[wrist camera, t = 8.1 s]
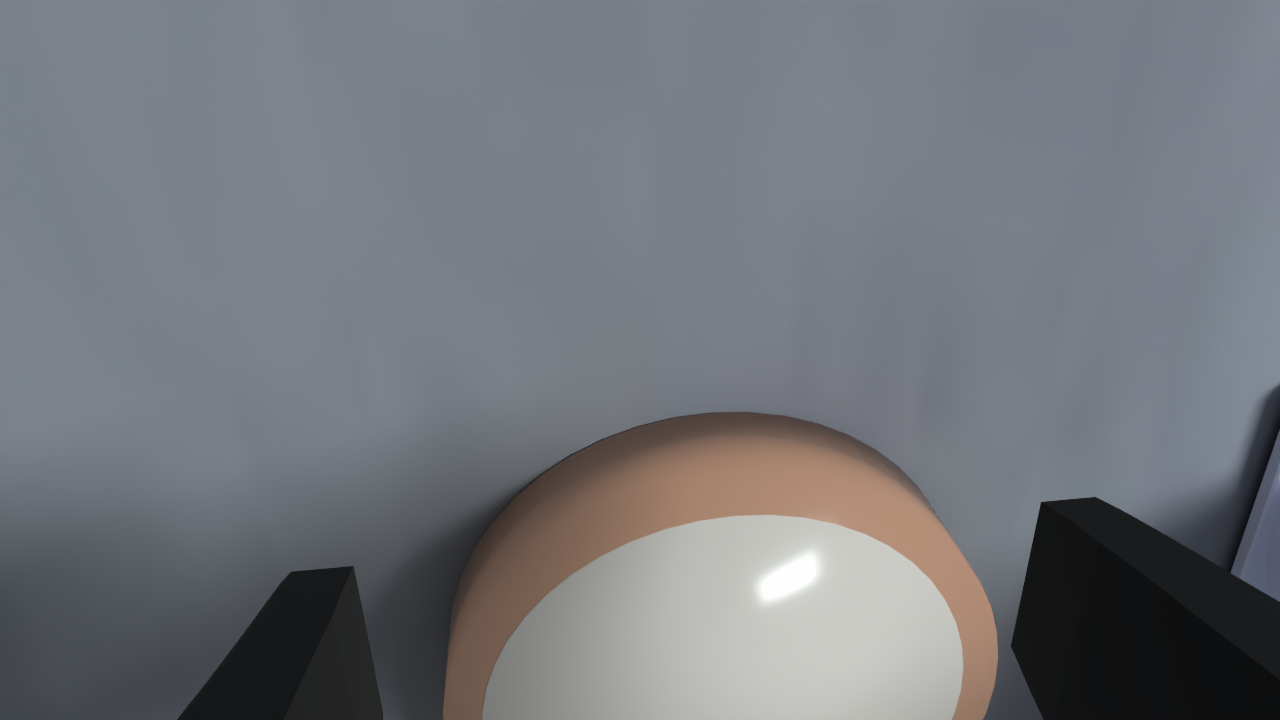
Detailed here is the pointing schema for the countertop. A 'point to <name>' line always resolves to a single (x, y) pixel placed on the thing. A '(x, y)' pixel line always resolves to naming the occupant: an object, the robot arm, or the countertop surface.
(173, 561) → the countertop surface
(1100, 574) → the robot arm
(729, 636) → the terracotta dish
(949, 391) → the countertop surface
